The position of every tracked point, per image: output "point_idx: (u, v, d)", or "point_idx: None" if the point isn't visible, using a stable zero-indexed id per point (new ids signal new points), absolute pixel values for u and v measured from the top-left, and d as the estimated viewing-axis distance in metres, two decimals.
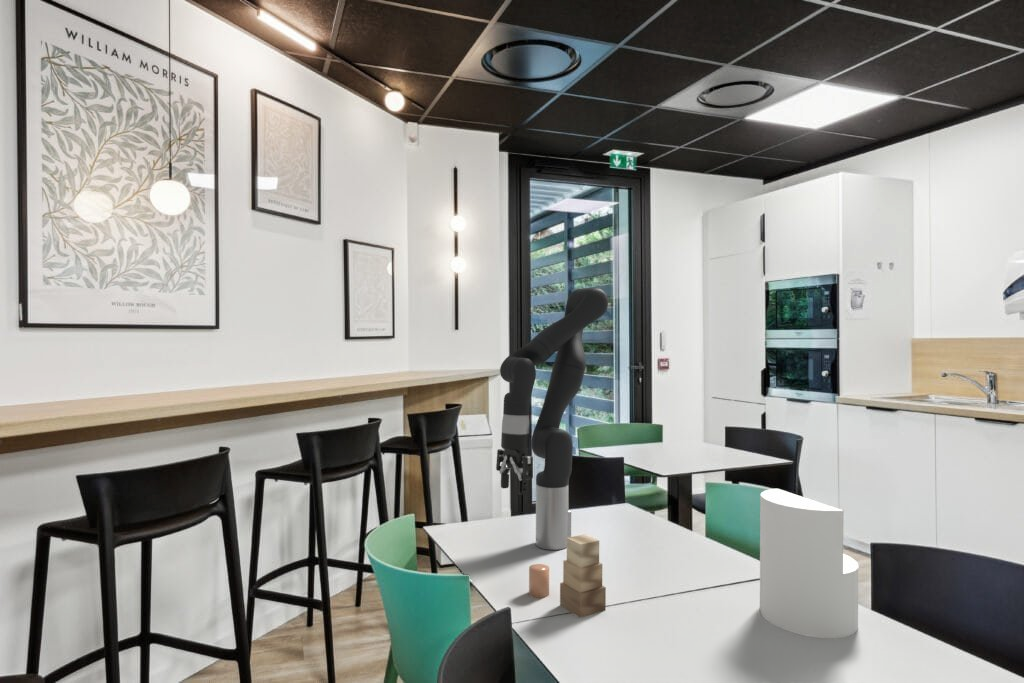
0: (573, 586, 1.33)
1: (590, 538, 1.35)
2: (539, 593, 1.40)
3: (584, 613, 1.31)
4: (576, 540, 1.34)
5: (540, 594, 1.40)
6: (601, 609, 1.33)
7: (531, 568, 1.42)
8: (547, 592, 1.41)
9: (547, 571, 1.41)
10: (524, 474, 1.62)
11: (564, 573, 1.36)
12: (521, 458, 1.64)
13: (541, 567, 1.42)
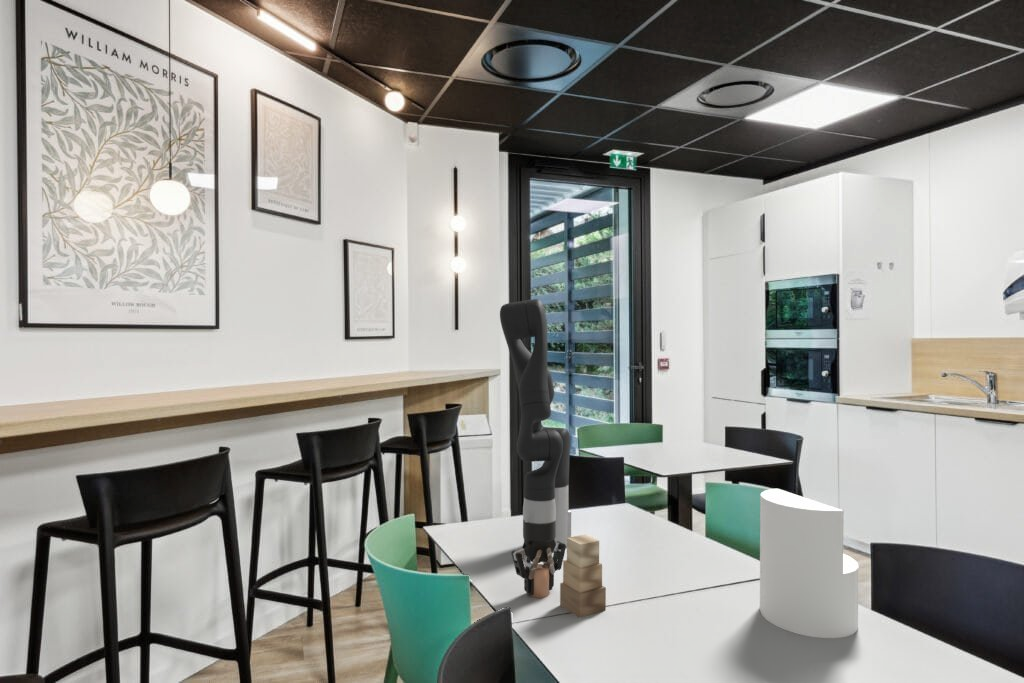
0: (572, 586, 1.33)
1: (590, 538, 1.35)
2: (539, 593, 1.40)
3: (584, 613, 1.31)
4: (576, 540, 1.34)
5: (540, 594, 1.40)
6: (601, 609, 1.33)
7: None
8: (547, 592, 1.41)
9: (547, 571, 1.41)
10: (560, 564, 1.44)
11: (564, 573, 1.36)
12: (556, 543, 1.44)
13: (541, 567, 1.42)
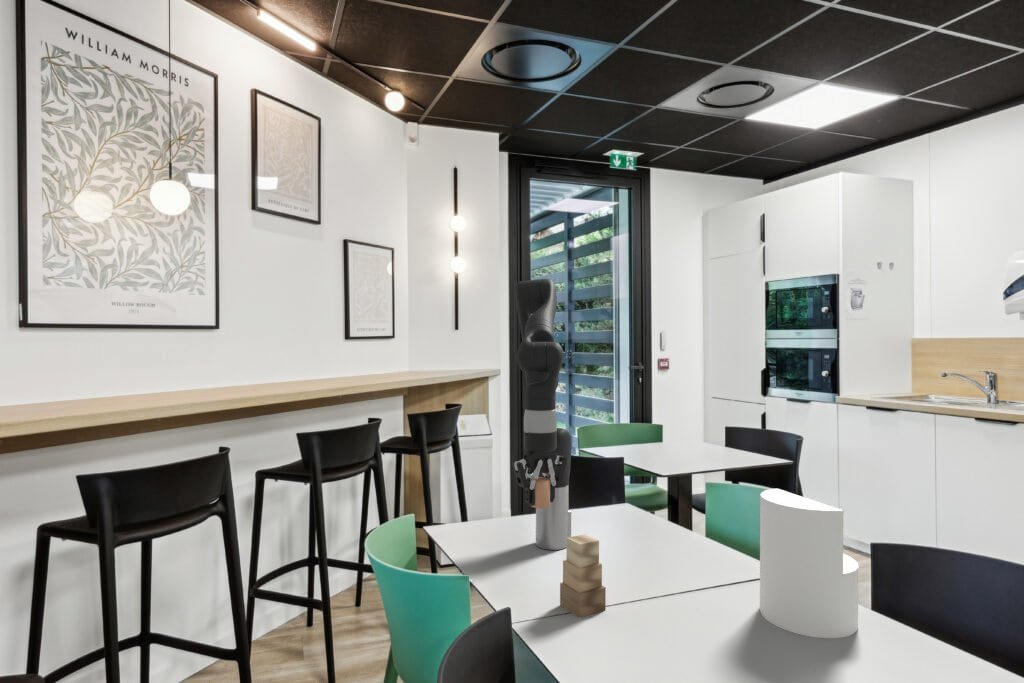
0: (572, 586, 1.33)
1: (590, 538, 1.35)
2: (540, 504, 1.40)
3: (584, 613, 1.31)
4: (575, 540, 1.34)
5: (541, 504, 1.40)
6: (601, 609, 1.33)
7: None
8: (548, 503, 1.41)
9: (548, 482, 1.41)
10: (561, 476, 1.44)
11: (563, 573, 1.36)
12: (556, 456, 1.44)
13: (542, 479, 1.42)
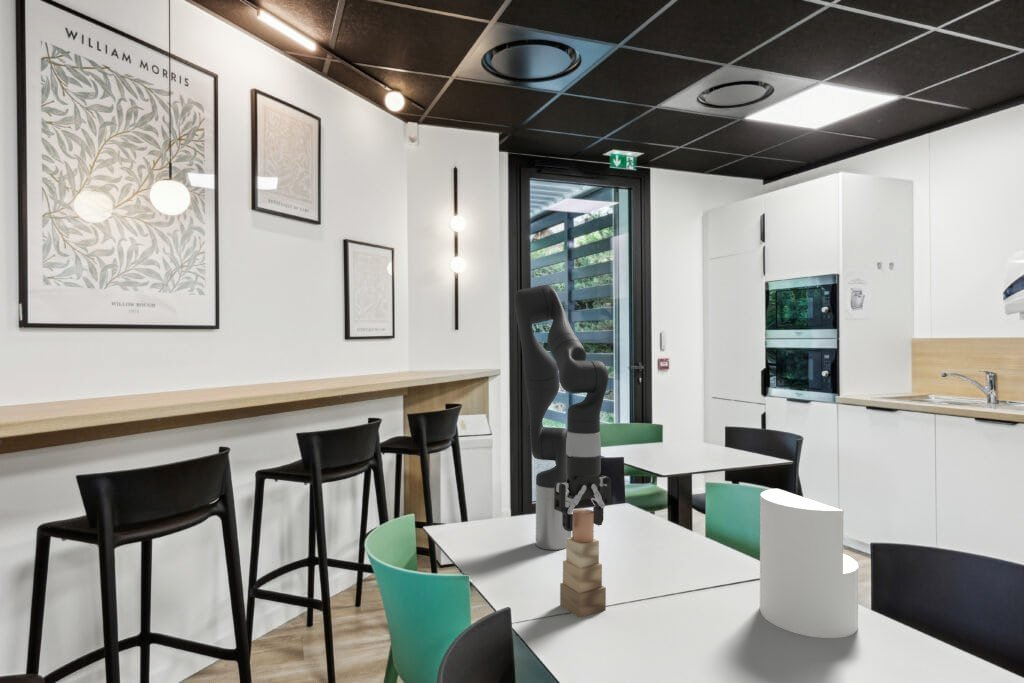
0: (572, 586, 1.33)
1: None
2: (583, 538, 1.33)
3: (584, 613, 1.31)
4: None
5: (585, 539, 1.33)
6: (601, 609, 1.33)
7: (575, 512, 1.35)
8: (592, 537, 1.34)
9: (592, 515, 1.34)
10: (609, 498, 1.37)
11: (563, 573, 1.36)
12: (600, 481, 1.37)
13: (585, 512, 1.35)
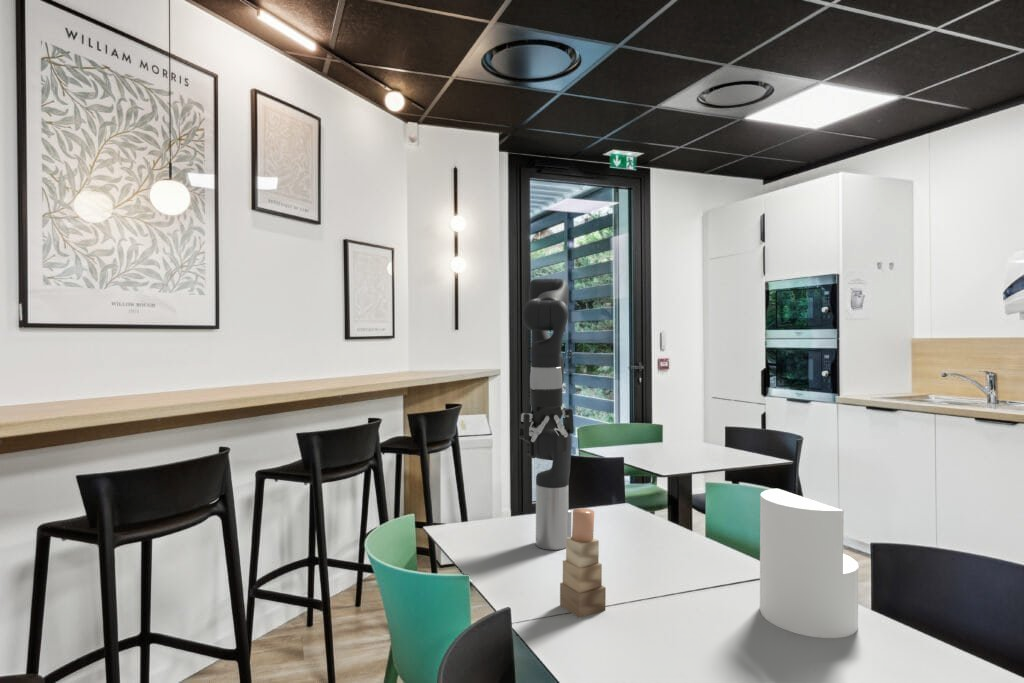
0: (572, 586, 1.33)
1: None
2: (583, 537, 1.33)
3: (584, 613, 1.31)
4: None
5: (585, 538, 1.33)
6: (601, 609, 1.33)
7: (575, 511, 1.35)
8: (592, 536, 1.34)
9: (592, 514, 1.34)
10: (572, 428, 1.48)
11: (563, 573, 1.36)
12: (562, 413, 1.47)
13: (586, 511, 1.35)
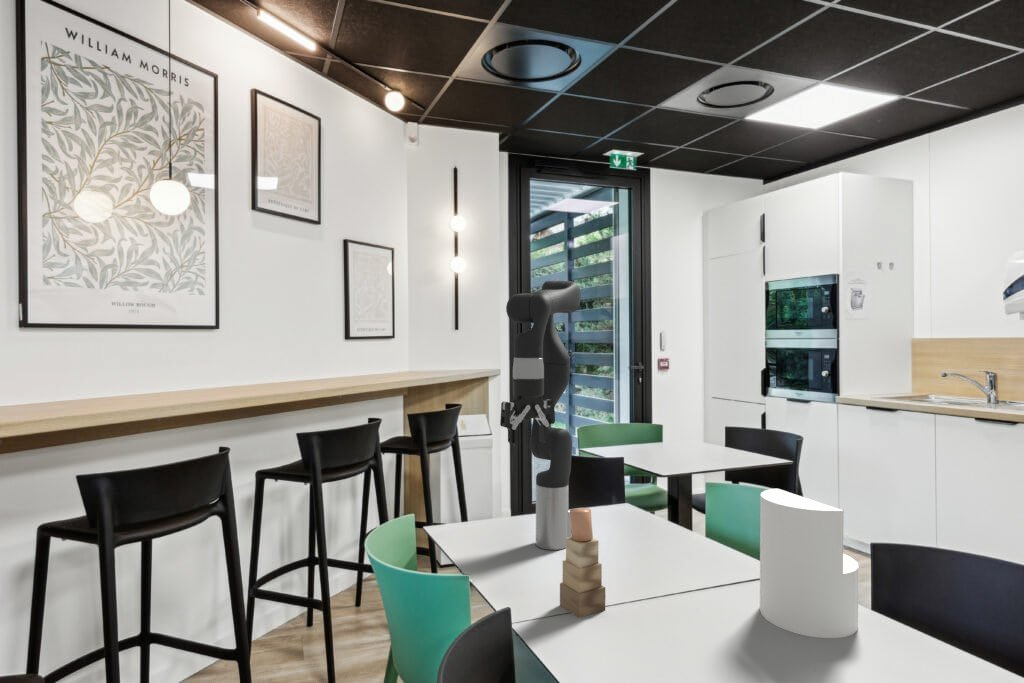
0: (572, 586, 1.33)
1: None
2: (584, 536, 1.33)
3: (584, 613, 1.31)
4: None
5: (585, 537, 1.33)
6: (601, 609, 1.33)
7: (572, 511, 1.35)
8: (591, 534, 1.34)
9: (590, 512, 1.34)
10: (553, 418, 1.52)
11: (563, 573, 1.36)
12: (544, 403, 1.52)
13: (582, 510, 1.35)
